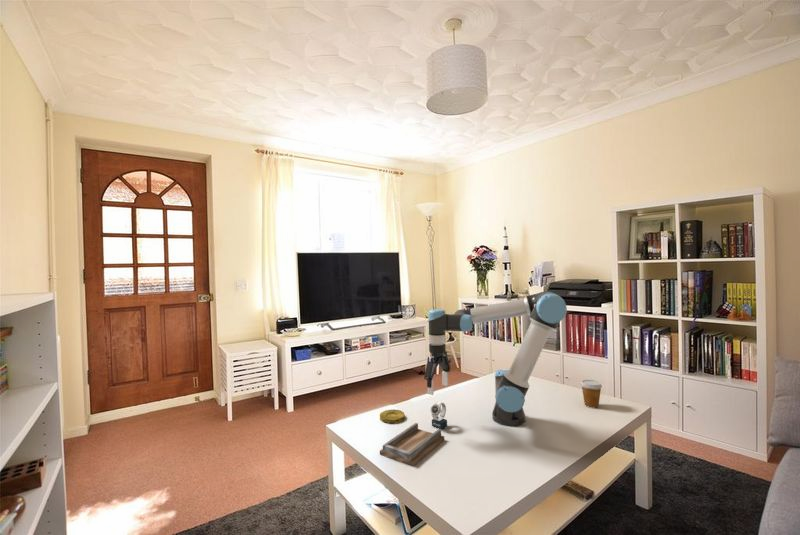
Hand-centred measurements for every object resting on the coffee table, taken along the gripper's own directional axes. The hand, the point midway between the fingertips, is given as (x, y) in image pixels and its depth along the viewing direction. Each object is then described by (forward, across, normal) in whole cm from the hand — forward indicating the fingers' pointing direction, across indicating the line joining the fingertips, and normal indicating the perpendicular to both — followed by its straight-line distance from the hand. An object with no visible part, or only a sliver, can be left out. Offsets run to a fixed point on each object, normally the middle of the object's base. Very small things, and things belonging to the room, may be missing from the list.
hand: (438, 389), depth 172 cm
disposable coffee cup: (+16, -61, +54) cm, 83 cm away
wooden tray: (+17, +22, 0) cm, 28 cm away
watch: (+17, 0, 0) cm, 17 cm away
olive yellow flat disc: (+18, +4, -24) cm, 30 cm away
